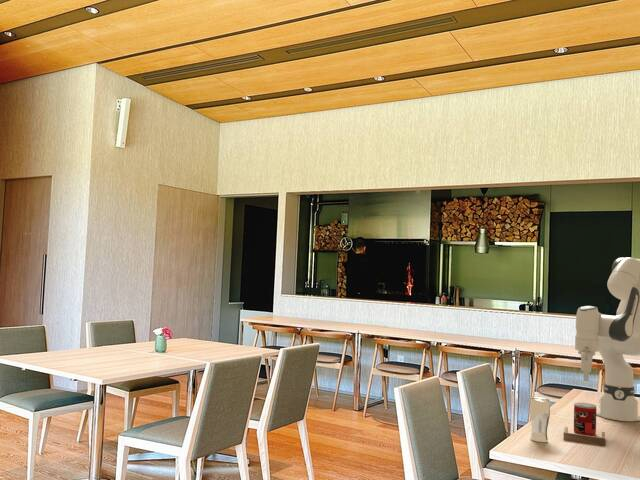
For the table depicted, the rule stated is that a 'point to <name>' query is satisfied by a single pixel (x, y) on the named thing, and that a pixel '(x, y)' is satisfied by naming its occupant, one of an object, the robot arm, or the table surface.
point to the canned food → (585, 419)
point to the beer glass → (539, 418)
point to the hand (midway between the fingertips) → (586, 380)
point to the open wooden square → (584, 438)
